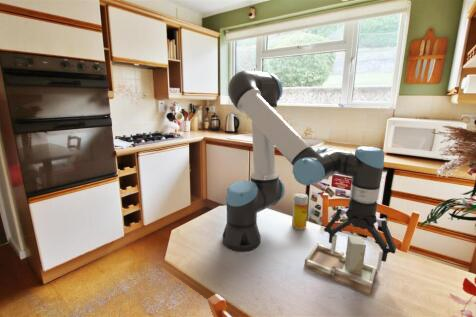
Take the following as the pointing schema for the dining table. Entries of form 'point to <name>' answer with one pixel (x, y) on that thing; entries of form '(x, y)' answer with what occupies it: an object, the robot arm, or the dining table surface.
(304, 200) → the glass of beer
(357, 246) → the box
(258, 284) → the dining table surface
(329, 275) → the shallow beige tray
